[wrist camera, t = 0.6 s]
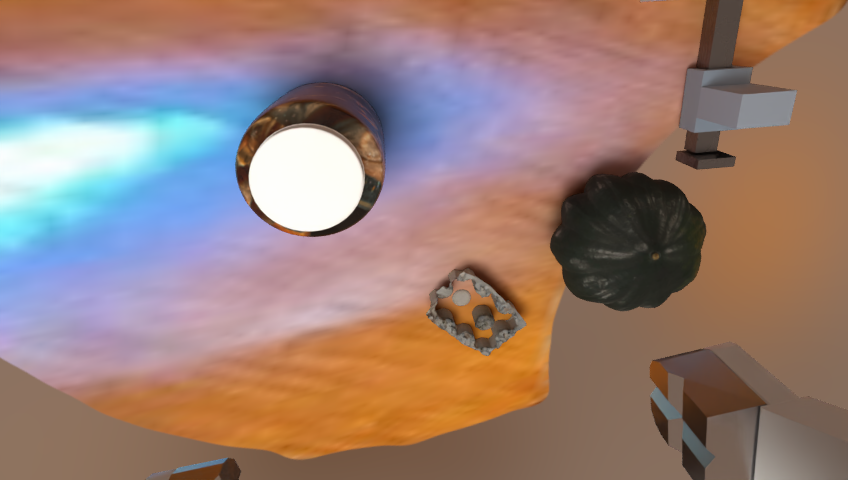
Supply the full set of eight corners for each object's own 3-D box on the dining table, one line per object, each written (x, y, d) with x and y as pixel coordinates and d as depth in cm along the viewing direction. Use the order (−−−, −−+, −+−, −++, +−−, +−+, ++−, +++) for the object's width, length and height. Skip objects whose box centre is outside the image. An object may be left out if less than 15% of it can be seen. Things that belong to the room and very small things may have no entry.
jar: (337, 216, 54) (324, 279, 40) (242, 149, 50) (194, 194, 37) (405, 131, 51) (417, 169, 38) (311, 53, 48) (285, 64, 34)
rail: (711, -89, 46) (740, -99, 42) (753, -91, 46) (785, -101, 43) (675, 160, 55) (697, 169, 52) (710, 157, 55) (733, 166, 52)
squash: (667, 321, 57) (759, 292, 43) (538, 320, 56) (590, 289, 42) (649, 207, 62) (727, 146, 47) (530, 203, 61) (574, 141, 46)
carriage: (686, 68, 51) (746, 76, 43) (733, 65, 51) (801, 72, 43) (678, 127, 53) (733, 145, 45) (722, 124, 54) (785, 141, 46)
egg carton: (419, 297, 59) (421, 315, 56) (464, 255, 58) (470, 271, 54) (478, 347, 63) (484, 368, 59) (522, 309, 61) (532, 328, 58)
